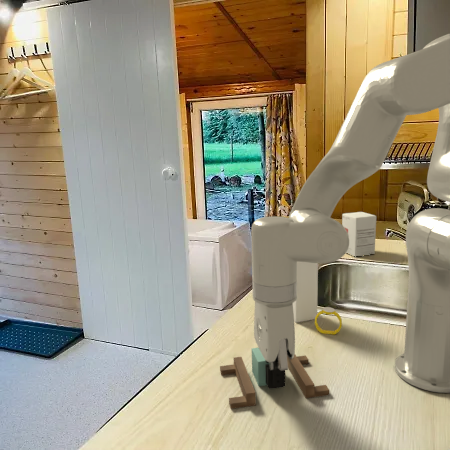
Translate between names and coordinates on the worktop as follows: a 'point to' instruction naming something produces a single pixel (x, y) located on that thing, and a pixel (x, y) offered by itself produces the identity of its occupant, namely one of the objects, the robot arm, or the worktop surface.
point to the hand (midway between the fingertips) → (275, 385)
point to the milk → (306, 292)
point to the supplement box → (360, 232)
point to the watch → (329, 312)
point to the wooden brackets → (248, 389)
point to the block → (258, 367)
